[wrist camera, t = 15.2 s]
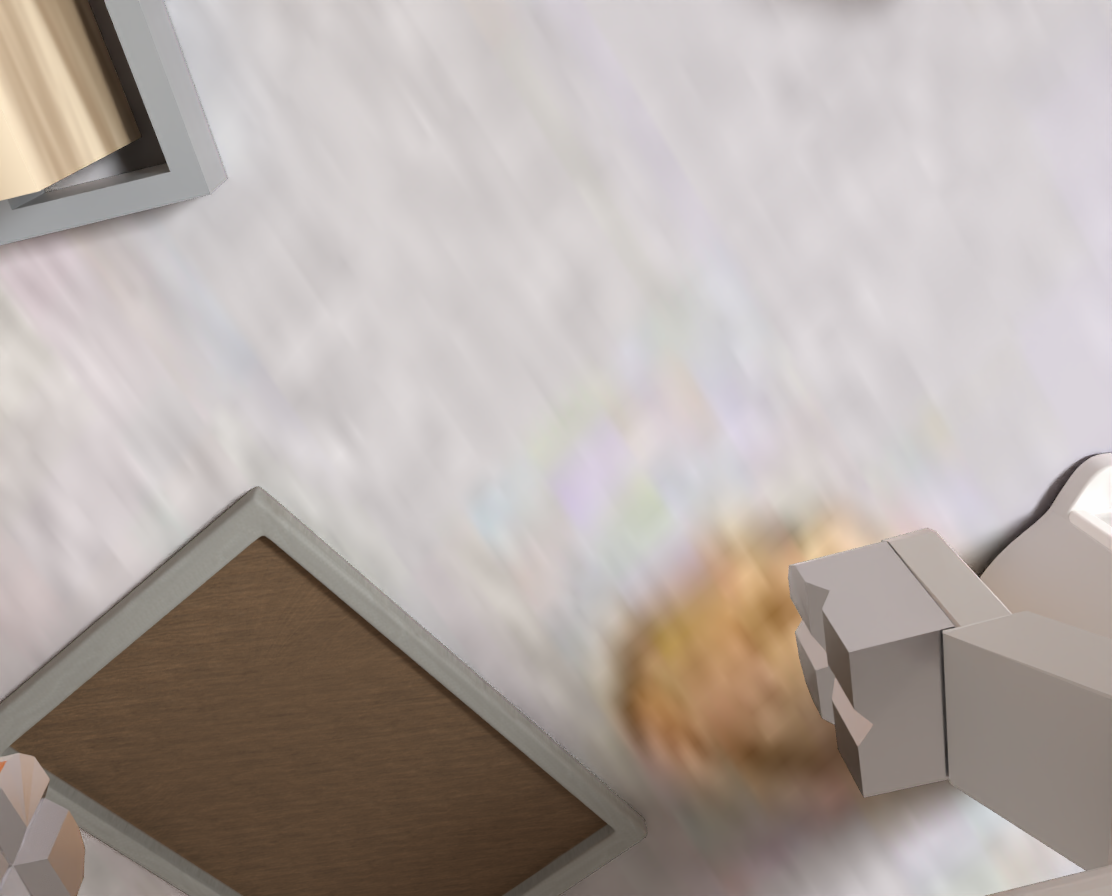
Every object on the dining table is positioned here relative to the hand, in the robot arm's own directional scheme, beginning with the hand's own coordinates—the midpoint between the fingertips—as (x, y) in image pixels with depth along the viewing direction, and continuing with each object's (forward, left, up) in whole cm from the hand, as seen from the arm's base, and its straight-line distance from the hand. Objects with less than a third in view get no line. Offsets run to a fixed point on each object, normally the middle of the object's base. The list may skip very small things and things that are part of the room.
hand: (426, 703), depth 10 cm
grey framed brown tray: (+12, +28, -30) cm, 43 cm away
